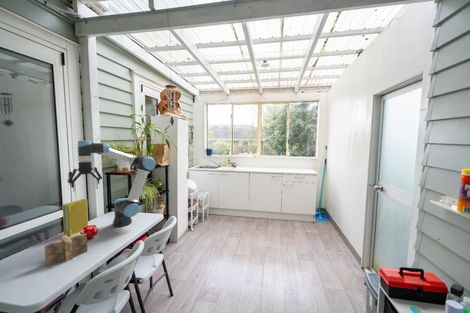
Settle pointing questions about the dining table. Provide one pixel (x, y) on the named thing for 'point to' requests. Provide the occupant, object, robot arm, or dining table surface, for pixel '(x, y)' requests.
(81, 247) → the brown wooden board
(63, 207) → the book
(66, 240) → the tan wooden slab
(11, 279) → the dining table surface
